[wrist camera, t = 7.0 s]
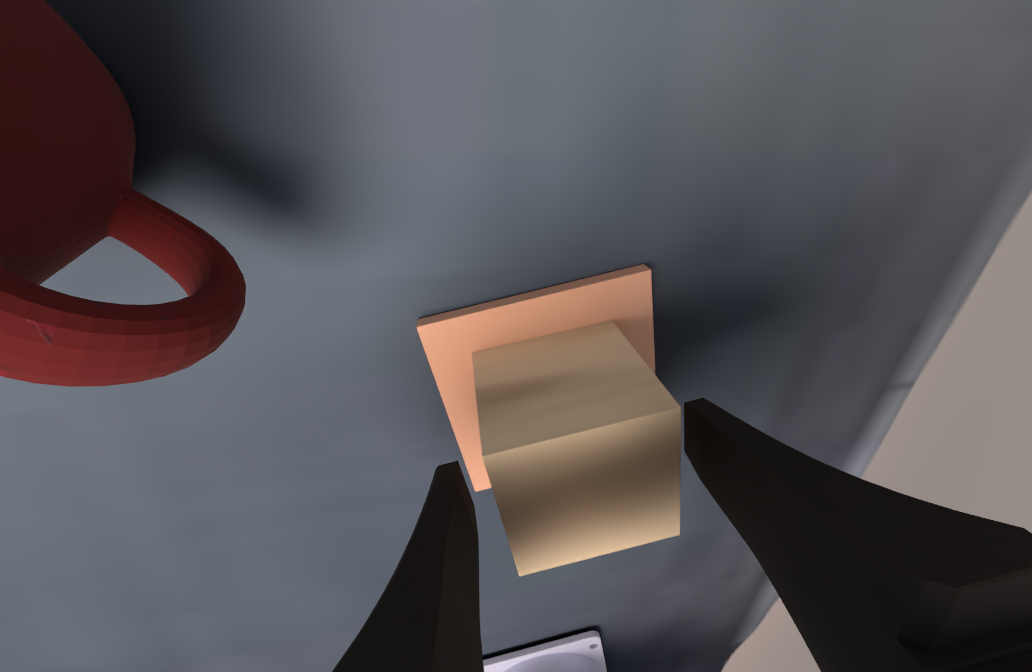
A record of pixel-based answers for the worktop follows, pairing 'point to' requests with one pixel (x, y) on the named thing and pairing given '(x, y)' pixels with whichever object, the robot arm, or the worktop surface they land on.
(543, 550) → the block
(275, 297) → the worktop surface
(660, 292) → the worktop surface
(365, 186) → the worktop surface
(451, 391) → the coaster
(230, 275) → the mug
